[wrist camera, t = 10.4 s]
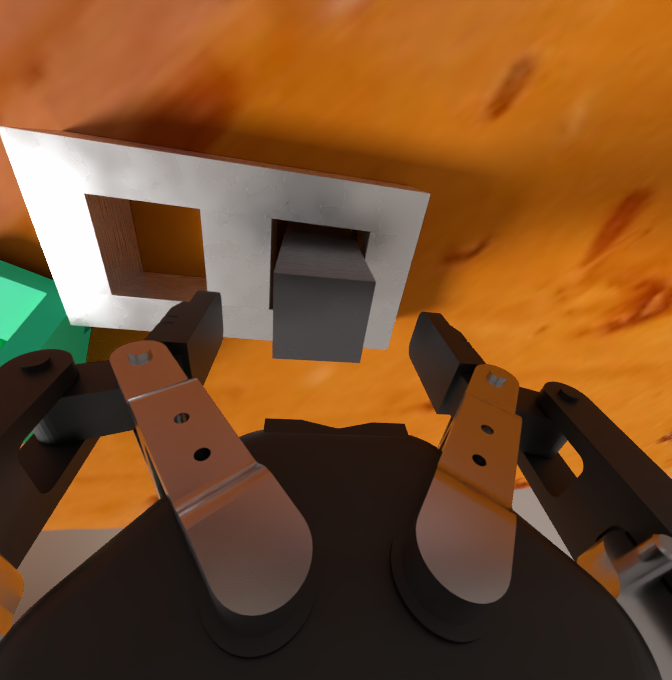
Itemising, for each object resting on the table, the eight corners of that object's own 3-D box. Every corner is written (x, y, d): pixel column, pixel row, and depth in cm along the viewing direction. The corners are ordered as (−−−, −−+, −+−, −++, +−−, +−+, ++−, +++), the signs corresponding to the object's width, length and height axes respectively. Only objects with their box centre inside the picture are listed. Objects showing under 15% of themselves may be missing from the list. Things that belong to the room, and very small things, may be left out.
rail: (61, 130, 16) (-3, 126, 13) (409, 185, 19) (430, 193, 16) (107, 297, 22) (70, 325, 18) (376, 322, 24) (387, 349, 21)
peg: (288, 220, 20) (273, 272, 11) (348, 226, 20) (376, 281, 12) (286, 277, 22) (272, 358, 13) (340, 282, 22) (359, 362, 14)
